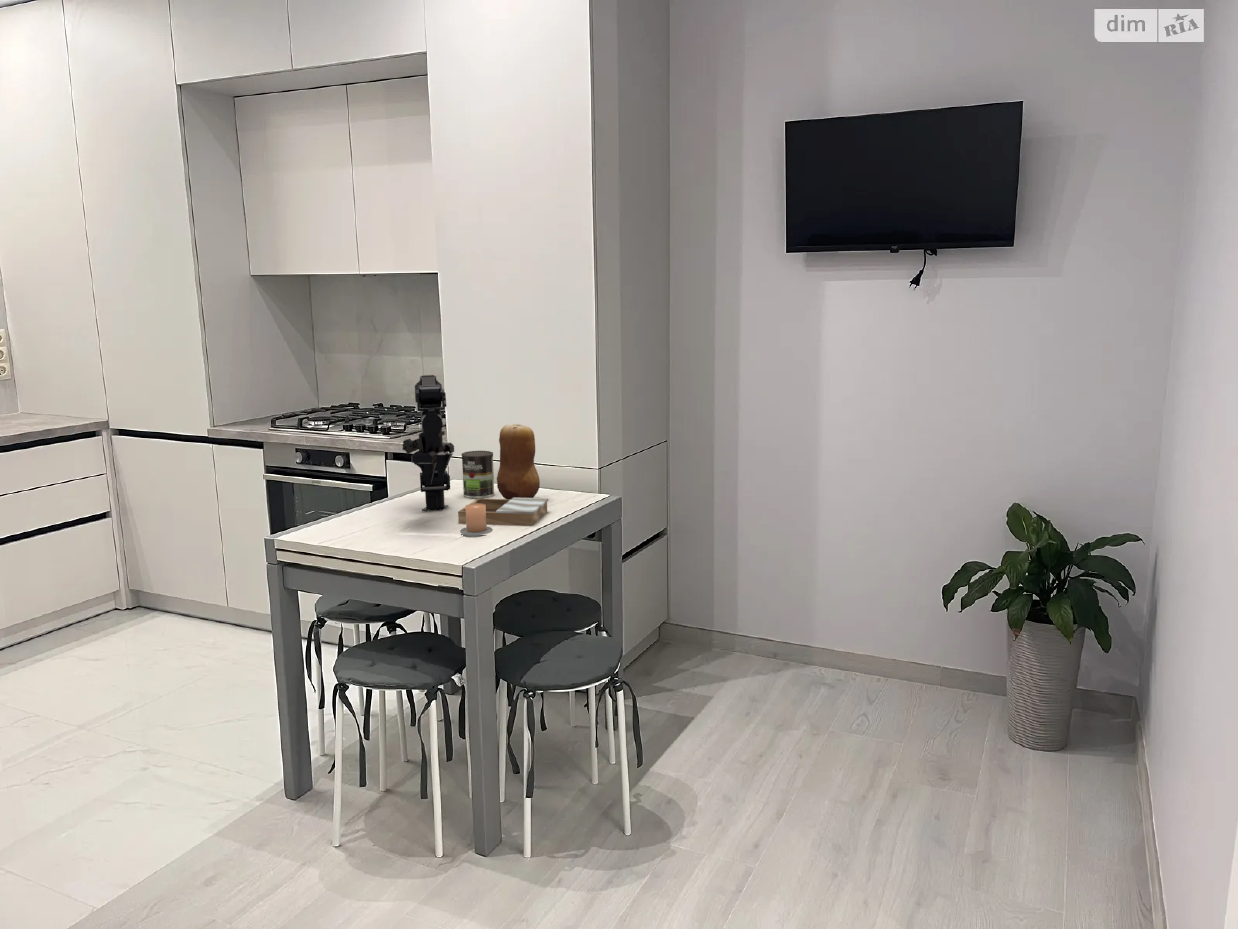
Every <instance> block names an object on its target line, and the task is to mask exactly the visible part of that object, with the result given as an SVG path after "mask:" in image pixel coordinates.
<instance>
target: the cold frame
mask: <svg viewBox="0 0 1238 929" xmlns="http://www.w3.org/2000/svg"><path fill="white" fill-rule="evenodd" d="M548 501H550V500H549V498H547V497H546V498H545V497H542V498H540V497H534V498H512V499H505V498H475V499H474V500H473V501H472V502H470V503H469V504H474V503H481V504H485V505H486V525H495V526H496V525H497V526H498V525H499V526H501V525H502V526H503V525H504V526H505V525H506V526H507V525H508V526H527V527H528V526H529V527H531V526H533V525H534V524H535V523H536V522H538V521H539V520H540V519H541V518H542V517H543V516H544V515H546V513H548ZM457 517H458V518H457V520H458V524H465V525H466V508H465V506H464V507H463V508H461V509H460V510H458V511H457Z"/></svg>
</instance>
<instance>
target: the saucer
mask: <svg viewBox="0 0 1238 929" xmlns="http://www.w3.org/2000/svg"><path fill="white" fill-rule="evenodd" d="M491 532H493V528H492V527H491V526H487V530H486V531H483V532H477V533H472V532H467V529H466V527H464V528H461V529H460V531H459V533H460V536H462V535H463V537H468V538H479V537H486V536H488V535H487V534H490V533H491Z"/></svg>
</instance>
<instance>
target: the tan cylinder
mask: <svg viewBox="0 0 1238 929" xmlns="http://www.w3.org/2000/svg"><path fill="white" fill-rule="evenodd" d="M464 507H465V508H466V524H465V525H466V526H465V528H466V529H467V532H472V533H477V532H483V531H486V530H487V527H488V526H487V525H488V524H486V505H485V504H481V503H474V504H470V503H469V504H465V506H464Z"/></svg>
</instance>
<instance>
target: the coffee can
mask: <svg viewBox="0 0 1238 929" xmlns="http://www.w3.org/2000/svg"><path fill="white" fill-rule="evenodd" d="M461 464H462V481H463V482H462V485H463V487H462V488H463V497H464V496H465V497H464V498H467V497H468V498H467V499H477V498H479V499H486V498H485V497H487V498H491V497H494V496H495V481H494V480H495V476H494V473H495V472H494V452H492V451H490V450H470V451H464V452H462V453H461ZM490 496H491V497H490Z"/></svg>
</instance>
